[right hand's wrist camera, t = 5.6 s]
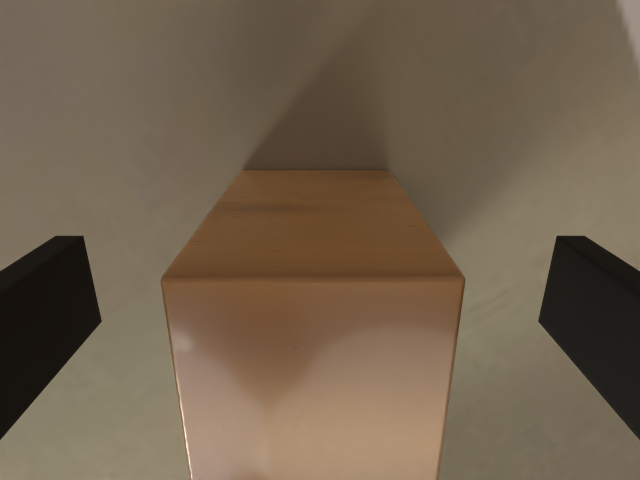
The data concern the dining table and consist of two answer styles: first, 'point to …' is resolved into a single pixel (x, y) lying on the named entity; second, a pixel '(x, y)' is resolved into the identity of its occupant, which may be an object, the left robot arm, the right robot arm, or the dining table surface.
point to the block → (313, 331)
